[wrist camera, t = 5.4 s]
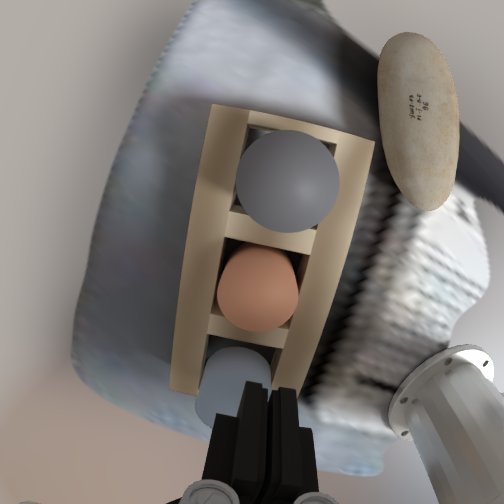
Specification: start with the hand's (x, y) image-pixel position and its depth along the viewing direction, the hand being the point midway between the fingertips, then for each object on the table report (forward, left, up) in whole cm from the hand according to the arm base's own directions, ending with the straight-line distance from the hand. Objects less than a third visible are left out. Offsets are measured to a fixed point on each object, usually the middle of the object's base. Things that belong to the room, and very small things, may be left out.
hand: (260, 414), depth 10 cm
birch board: (0, 0, -14) cm, 14 cm away
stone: (-8, -13, -15) cm, 21 cm away
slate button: (0, +7, -11) cm, 13 cm away
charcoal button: (0, -7, -11) cm, 13 cm away
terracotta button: (0, 0, -13) cm, 13 cm away
